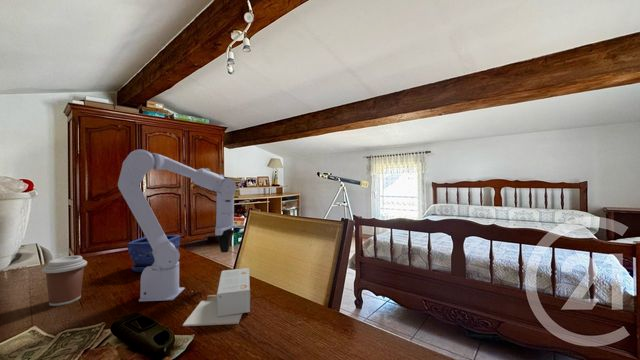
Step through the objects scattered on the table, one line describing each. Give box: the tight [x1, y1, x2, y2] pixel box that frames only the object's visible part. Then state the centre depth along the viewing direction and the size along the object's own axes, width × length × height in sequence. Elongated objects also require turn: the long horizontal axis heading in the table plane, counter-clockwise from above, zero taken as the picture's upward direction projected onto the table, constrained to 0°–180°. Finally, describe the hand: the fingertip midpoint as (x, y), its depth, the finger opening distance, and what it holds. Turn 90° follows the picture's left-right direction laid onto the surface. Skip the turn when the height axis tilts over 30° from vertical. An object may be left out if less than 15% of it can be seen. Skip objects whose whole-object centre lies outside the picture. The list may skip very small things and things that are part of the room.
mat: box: [182, 300, 244, 327], centre depth 67 cm, size 13×12×1 cm
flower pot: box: [127, 234, 181, 273], centre depth 100 cm, size 13×13×12 cm
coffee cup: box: [41, 255, 88, 307], centre depth 73 cm, size 9×9×12 cm
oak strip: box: [206, 294, 217, 301], centre depth 73 cm, size 12×1×2 cm, turn 96°
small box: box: [216, 267, 251, 317], centre depth 70 cm, size 8×6×13 cm
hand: (224, 251), depth 87 cm, fingers closed
